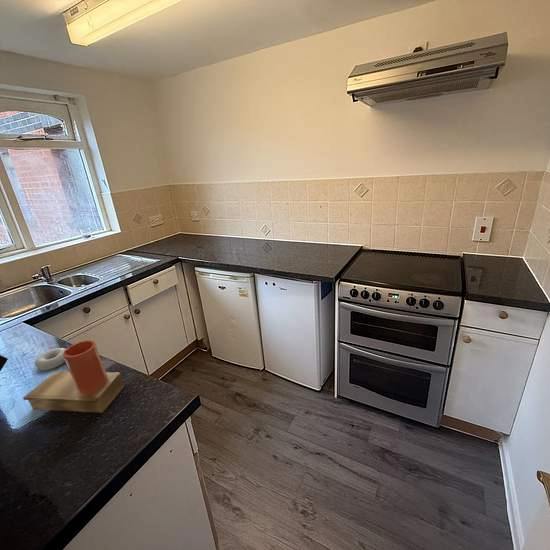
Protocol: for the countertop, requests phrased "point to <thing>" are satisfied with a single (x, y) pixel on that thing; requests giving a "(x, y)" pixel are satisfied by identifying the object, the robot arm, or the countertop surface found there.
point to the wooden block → (73, 394)
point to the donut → (50, 359)
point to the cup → (85, 366)
